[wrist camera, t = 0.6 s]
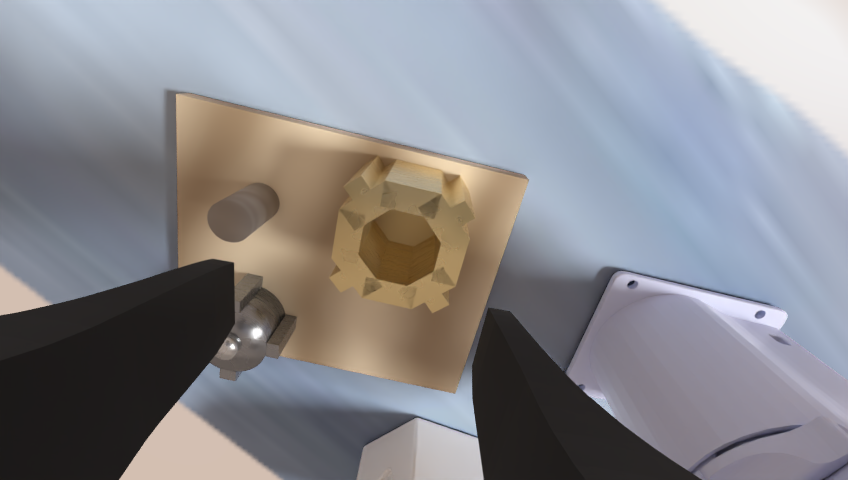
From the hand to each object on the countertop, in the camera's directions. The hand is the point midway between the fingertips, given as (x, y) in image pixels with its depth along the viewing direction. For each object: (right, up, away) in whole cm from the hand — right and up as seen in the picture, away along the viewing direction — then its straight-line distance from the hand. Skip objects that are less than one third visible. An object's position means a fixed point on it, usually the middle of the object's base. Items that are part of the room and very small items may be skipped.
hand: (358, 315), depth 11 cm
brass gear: (+1, +3, +8) cm, 8 cm away
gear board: (-3, +1, +10) cm, 10 cm away
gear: (-7, -2, +10) cm, 13 cm away
